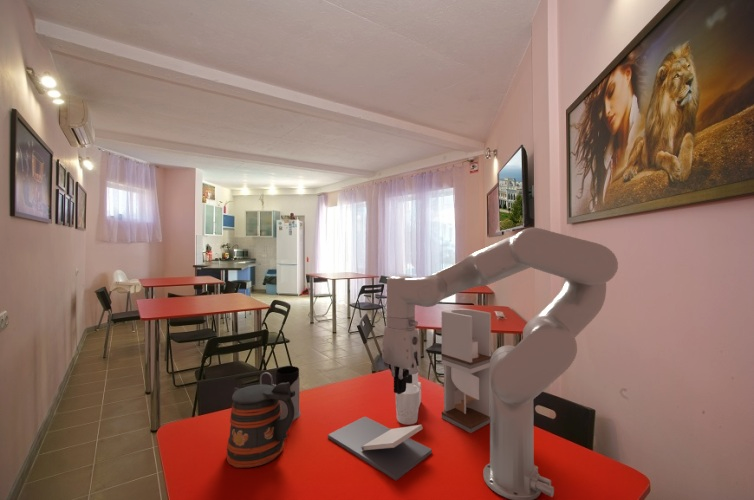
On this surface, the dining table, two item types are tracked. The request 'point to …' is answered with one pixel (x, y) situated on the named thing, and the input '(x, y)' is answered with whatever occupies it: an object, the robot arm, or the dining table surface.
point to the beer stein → (258, 424)
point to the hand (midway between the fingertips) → (399, 391)
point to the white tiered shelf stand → (466, 367)
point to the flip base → (384, 459)
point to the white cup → (407, 405)
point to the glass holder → (293, 378)
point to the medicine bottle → (414, 383)
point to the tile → (392, 438)
